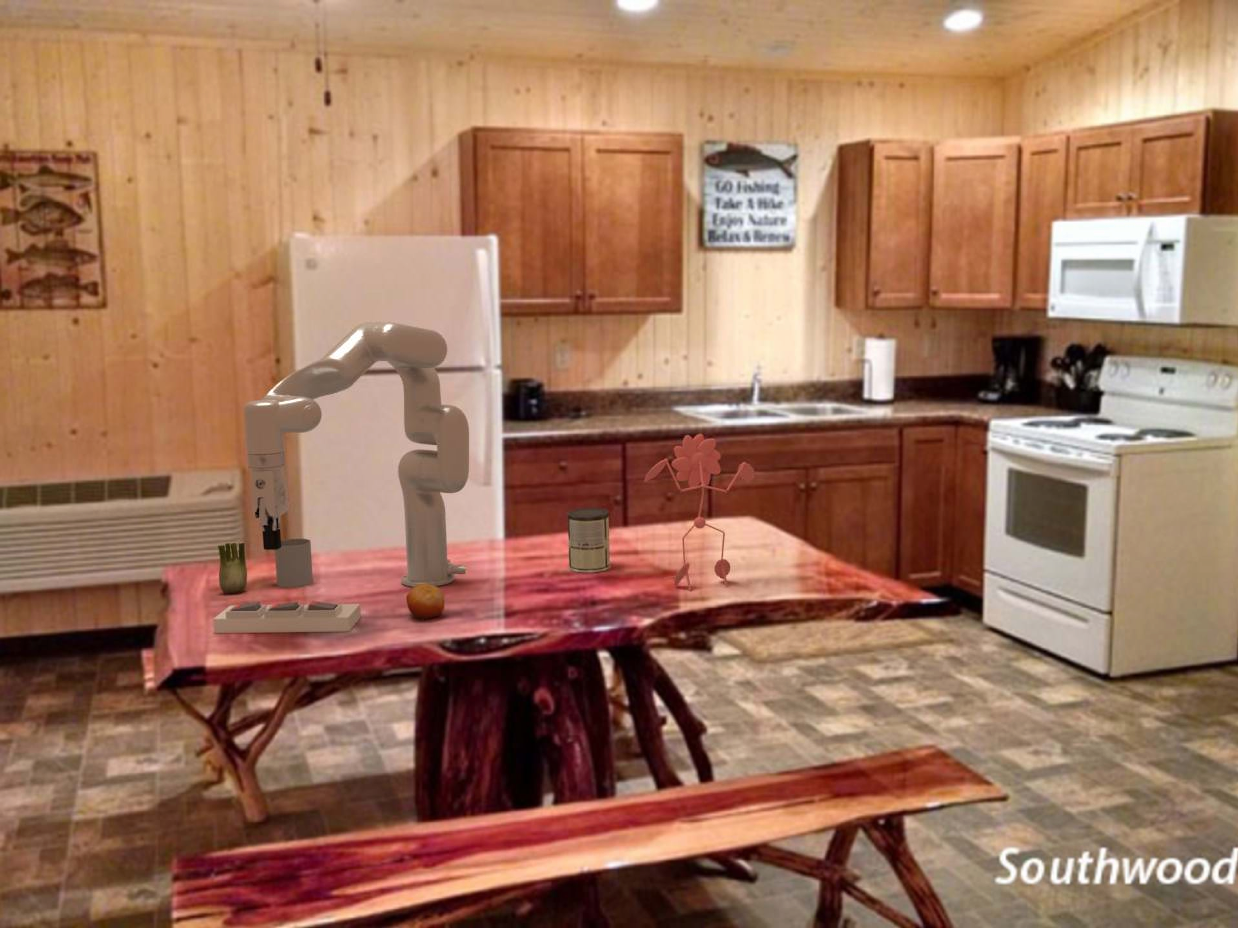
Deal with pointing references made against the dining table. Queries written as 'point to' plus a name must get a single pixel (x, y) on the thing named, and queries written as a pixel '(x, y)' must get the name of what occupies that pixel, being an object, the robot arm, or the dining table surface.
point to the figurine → (697, 467)
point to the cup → (294, 563)
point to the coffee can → (588, 540)
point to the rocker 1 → (247, 607)
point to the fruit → (425, 601)
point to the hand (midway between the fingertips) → (272, 548)
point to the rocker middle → (285, 606)
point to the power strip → (288, 620)
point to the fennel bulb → (232, 568)
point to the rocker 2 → (321, 606)
